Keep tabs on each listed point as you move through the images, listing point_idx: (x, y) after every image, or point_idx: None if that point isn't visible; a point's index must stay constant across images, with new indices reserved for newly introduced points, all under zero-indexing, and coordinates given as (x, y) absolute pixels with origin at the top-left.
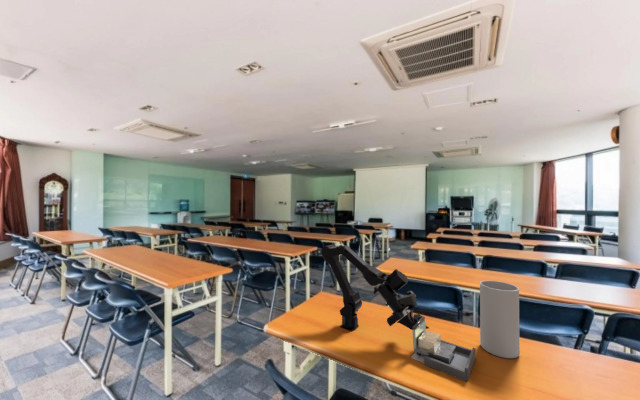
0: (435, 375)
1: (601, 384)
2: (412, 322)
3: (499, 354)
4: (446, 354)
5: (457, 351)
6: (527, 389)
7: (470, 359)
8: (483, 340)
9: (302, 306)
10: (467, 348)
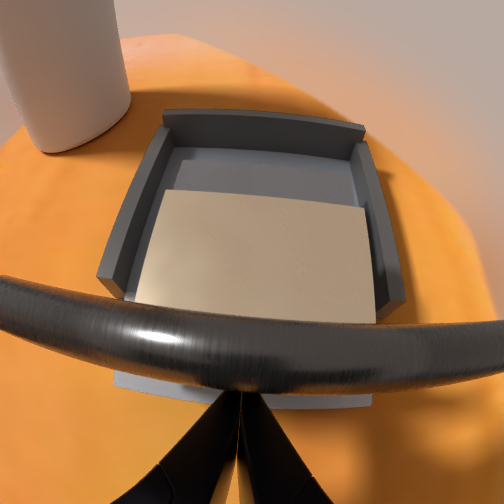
0: (413, 255)
1: (168, 42)
2: (284, 488)
3: (127, 103)
4: (318, 186)
5: (156, 191)
6: (265, 79)
7: (284, 114)
8: (81, 113)
9: None
10: (152, 142)
